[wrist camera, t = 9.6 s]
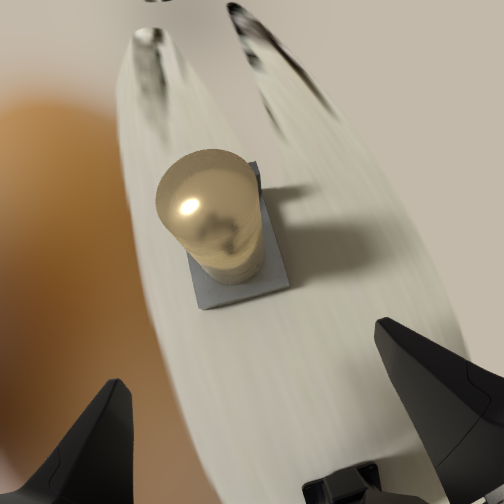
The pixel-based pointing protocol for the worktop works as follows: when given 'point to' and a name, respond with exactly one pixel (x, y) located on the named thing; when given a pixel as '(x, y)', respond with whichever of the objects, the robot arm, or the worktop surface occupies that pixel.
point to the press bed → (262, 283)
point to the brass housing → (214, 213)
